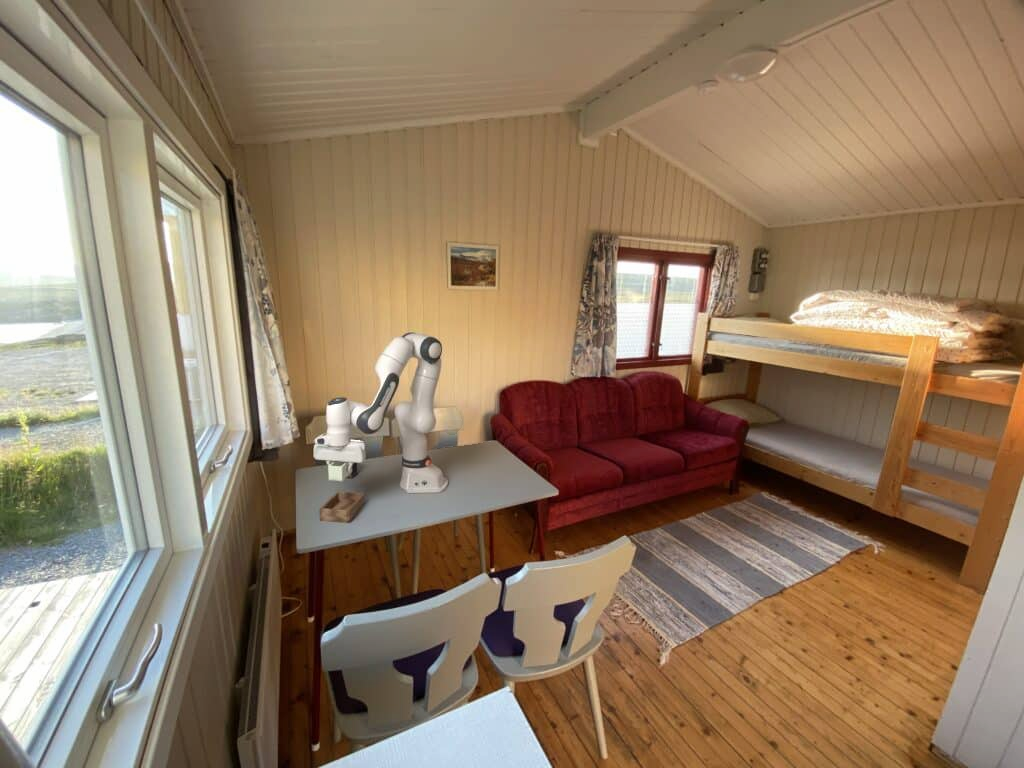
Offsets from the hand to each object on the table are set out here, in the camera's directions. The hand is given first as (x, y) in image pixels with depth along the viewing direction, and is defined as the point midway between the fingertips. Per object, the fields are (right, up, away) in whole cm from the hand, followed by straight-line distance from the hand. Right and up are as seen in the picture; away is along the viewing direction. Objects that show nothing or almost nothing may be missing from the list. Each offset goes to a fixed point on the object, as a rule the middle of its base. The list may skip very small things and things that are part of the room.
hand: (340, 470), depth 173 cm
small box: (-12, -10, +36) cm, 40 cm away
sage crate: (0, -2, 0) cm, 2 cm away
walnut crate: (0, -18, +4) cm, 18 cm away
